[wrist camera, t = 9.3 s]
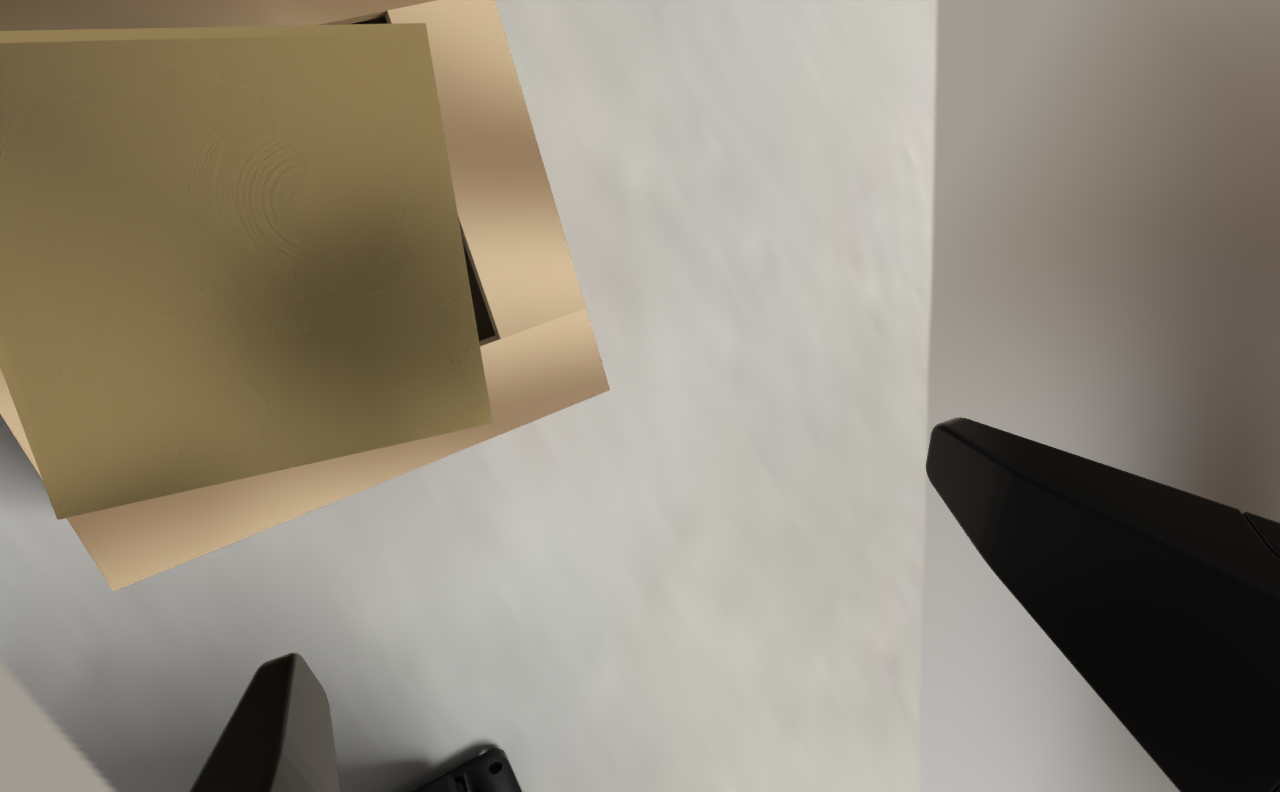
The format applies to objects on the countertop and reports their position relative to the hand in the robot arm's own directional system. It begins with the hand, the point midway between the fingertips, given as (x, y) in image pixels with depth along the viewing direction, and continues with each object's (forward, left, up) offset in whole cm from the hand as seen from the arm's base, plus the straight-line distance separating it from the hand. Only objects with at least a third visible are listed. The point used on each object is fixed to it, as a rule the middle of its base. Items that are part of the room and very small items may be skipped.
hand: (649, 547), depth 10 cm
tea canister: (+5, +3, -14) cm, 15 cm away
